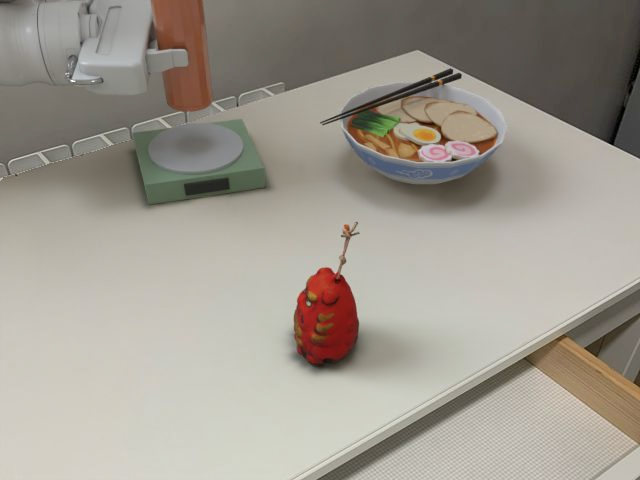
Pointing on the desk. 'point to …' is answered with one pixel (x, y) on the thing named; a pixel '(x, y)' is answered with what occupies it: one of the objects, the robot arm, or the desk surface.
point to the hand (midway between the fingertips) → (189, 43)
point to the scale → (198, 161)
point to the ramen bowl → (422, 129)
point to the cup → (190, 31)
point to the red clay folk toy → (327, 314)
